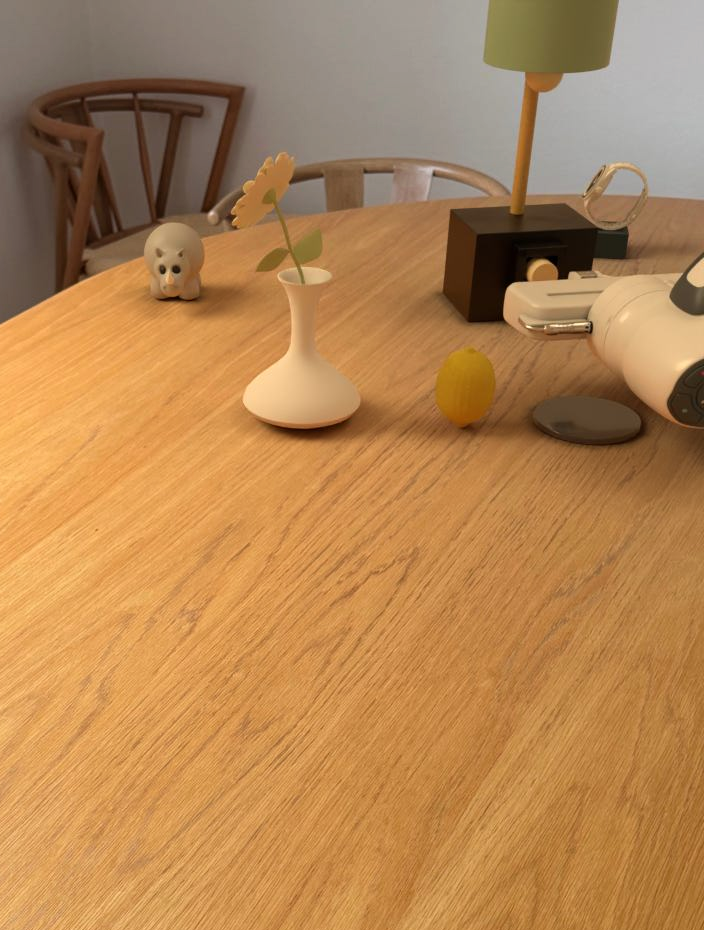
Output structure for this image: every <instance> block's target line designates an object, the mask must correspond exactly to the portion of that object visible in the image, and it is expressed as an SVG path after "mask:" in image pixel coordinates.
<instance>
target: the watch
mask: <svg viewBox="0 0 704 930" xmlns="http://www.w3.org/2000/svg"><path fill="white" fill-rule="evenodd" d="M619 170H627V171H631V172H633V173H635V174H636V175H637V176H638V177H639V178H640V179H641V180H642V182H643V184H644V186H643V187H644V188H642V190H641V194H640V195H639V197H638V199H637V201H636V203H635V204H634V206H633V207H632V208H631V209H630V210H629V212H628V213H627V214H626V215H625V217H624V218H623V219H622V220H619V221H611V220H610V221H609V220H608V221H607V220H599V219H597V218H596V217H595V216H594V215H593V214H592V212H591V210H590V208H591V205H592V204H593V203H595V202H596V201H597V200H598V199H599V198H600V197H601V196H602V194H604V192H605V190H606V189H607V188H608V186H609V185H610V183H611V181H612V179H613V177H614V175H615V174H616V173H617V172H618V171H619ZM581 199H582V200H583V201H584V202H583V203H584V204H583V205H584V212H585V214H586V217H587V219H588V220H589V221H590V222H592V223H593V224H594V225H596V226H597V227H598V234H597V240H596V247H595V253H594V258H597V259H600V258H601V259H614V260H615V259H618V260H625V259H626V255H627V249H628V242H629V238H630V233H629V232H630V231H629V227H628V226H631V225H632V224H633V222H634V221H635V220H636V219H637V218H638V217H639V215H641V213H642V211H643V210H644V208H645V206H646V204H647V203H648V199H649V185H648V182H647V177H646V176H645V174H644V172H643V171H642V170H641V168H639V167H638V166H637V165H635V164H633V163H630V162H625V161H616V162H612V163H610V164H609V165H608V164H607V163H606V164H603V165H602V166H601V167H600V168H599V169H598V170H597V172H596V173H595V174H594V175H593V177H592V178H591V179H590V181H589V183H588V184H587V186H586V187H585V188H584V190H583V193H582V196H581Z"/></svg>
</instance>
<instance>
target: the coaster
mask: <svg viewBox="0 0 704 930" xmlns="http://www.w3.org/2000/svg"><path fill="white" fill-rule="evenodd" d="M532 421H533V423H534V425H535V426H536V428H538V429H539V430H540V431H541V432H543V433H544V434H547V435H549V436H550V437H553V438H556V439H558V440H562V441H565V442H570V443H575V444H582V445H595V446H596V445H597V446H598V445H599V446H600V445H614V444H618V443H623V442H627V441H628V440H630V439H633V438H634V437H636V436H637V434H638V433H639V432H640V430H641V427H642V420H641V417H640V416H639V414H638V413H637V412H636V411H635V410H633V409H631V407H628V406H627V405H625V404H622V403H620V402H616V401H614V400H611V399H607V398H602V397H597V396H588V395H566V396H565V395H564V396H558V397H553V398H550V399H545V400H543V401H542V402H540V403H539V404H538V405H536V407H535V408H534V410H533V415H532Z"/></svg>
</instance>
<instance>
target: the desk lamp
mask: <svg viewBox="0 0 704 930" xmlns="http://www.w3.org/2000/svg"><path fill="white" fill-rule="evenodd" d="M619 2H620V0H488V6H487V7H488V9H487V18H486V29H485V37H484V38H485V39H484V46H483V58H482V61H483V63H484V64H486V65H488V66H490V67H493V68H496V69H501V70H507V71H513V72H521V73H524V78H525V80H524V86H523V87H524V89H523V95H522V103H521V104H522V106H521V112H520V113H521V114H520V122H519V130H518V140H517V146H516V147H517V148H516V156H515V165H514V173H513V181H512V190H511V198H510V199H511V200H510V205H503V206H500V205H499V206H485V207H484V206H483V207H466V208H465V207H463V208H450V209H449V219H448V231H447V239H446V241H447V242H446V251H445V261H444V262H445V263H444V273H443V283H442V284H443V286H442V295H444V297H445V298H446V299H447V300H448V301H449V303H451V304H452V306H453V307H454V308H455V309H456V310H457V312H458V313H459V314H460V315H461V317H463V318H464V319H465V321H466V322H467V323H472V322H473V323H475V322H478V323H479V322H492V321H506V320H505V319H504V316H503V310H504V300H505V294H506V290H507V288H508V287H509V286H510V285H511V284H512V283H516V282H528V281H527V280H526V278H525V276H524V274H525V267H526V264H527V263H528V262H529V261H530V260H531V259H532V258H535V257H544V258H546V259H547V260H548V261H550V262H551V263H552V264H553V265H554V266H555V267H556V268H557V271H558V278H557V280H566V279H568V277H569V273H570V272H579V271H593V264H594V259H595V257H594V253H595V247H596V240H597V234H598V227H597V226H596V225H594V224H593V223H592V222H591V221H590V220H589V219H588V218H586V217H585V216H583V214H581V213H580V212H578V211H577V210H575V208H573V207H571V205H569V204H567V203H566V202H562V203H559V202H558V203H541V204H526V200H527V192H528V184H529V176H530V169H531V168H530V167H531V159H532V153H533V152H532V151H533V143H534V135H535V127H536V118H537V111H538V103H539V95H540V93H549V92H552V91H553V90H554V89H556V88H557V87H558V86H559V85H560V84H561V82H562V80H563V78H564V74H577V73H578V74H579V73H587V72H595V71H598V70H602V69H605V68H607V67H608V66H609V65H610V62H611V56H612V48H613V42H614V37H615V36H614V35H615V28H616V23H617V16H618V10H619Z"/></svg>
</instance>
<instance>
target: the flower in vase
mask: <svg viewBox="0 0 704 930" xmlns="http://www.w3.org/2000/svg"><path fill="white" fill-rule="evenodd" d="M295 168H296V163H295V156H292V157H291V158H290V156H289V154H288V153H287V151H282V152H280V153H279V154H278V155H277V157H276V158H275V161H274V159H273V157H272V156H269V157H267V158H266V159H265V161H264V163H263V165H262V166H261V167H260V168H259V170H258V171H257V174H256V177H255V178H254V180H248V181H246V182H245V183H244V185H243V186H242V192H243V193H244V195H243V196H242V197H240V198H239V199H238V200H237V201H236V203H235V205H234V206H233V208H232V209H231V210H230V214H231V215H232V216H234V215H236V217H235V218H234V219H233V220H232V222H231V226H233V227H236V228H237V229H242V230H243V231H244V230H246V229H248V228H253V227H255V225H256V224H257V223H259V222H261V221H262V220H263V219H264V218H265V217H266V216H267V214H269V213H271V212H273V210H274V209H275V210H276V213H277V216H278V219H279V221H280V224H281V227H282V230H283V233H284V237H285V242H286V247H287V248H285V247H276V248H275V249H273V250H271V251H270V252H268V253H267V254H266V255H265V256H264V257H263V258H262V259H261V260H260V261H259V263H258V265H257V266H256V268H255V271H254V273H255V274H256V273H267V272H268V273H269V272H272V271H274V270H276V269H277V268H278V267H279V266H280V265H281V264H282V263H283V261H285V259H286V258H287V257H288V255H289V254H290V256H291V258H292V261H293V263H294V265H295V267H289V268H286V269H283V270H281V271H279V272H278V273H277V279H278V280H279V282H280V284H281V285H282V287H283V289H284V290H285V293H286V296H287V298H288V302H289V308H290V318H291V319H290V321H291V334H290V335H291V336H290V343H289V347H288V349H287V352H286V353H285V354H284V355H283V356H282V357H281V358H280V359H278V360H277V361H276V362H275V363H273V364H271V366H269V367H267V368H266V369H265V370H263V371H262V372H261V373H259V374H258V375H257V376H256V377H254V378H253V379H252V381H251V382H250V383H249V384H248V385H247V386H246V388H245V391H244V393H243V397H242V402H243V405H244V406H245V408H246V409H247V411H248V413H249V414H251V416H253V417H254V418H256V419H257V420H259V421H261V422H264V423H267V424H269V425H273V426H278V427H281V428H288V429H289V428H290V429H300V430H301V429H302V430H303V429H305V430H306V429H307V430H309V429H316V428H317V429H318V428H322V427H328V426H333V425H336V424H339V423H342V422H343V421H346V420H347V419H349V418H350V417H352V416H353V415H354V414H355V413H356V411H357V410H358V409H359V407H360V405H361V400H362V399H361V396H360V393H359V390H358V388H357V387H356V385H355V384H354V383H353V382H352V381H351V379H350V378H348V376H346V375H345V374H343V373H342V372H341V371H340V370H339V369H338V368H336V367H335V366H333V365H332V364H331V363H329V362H328V361H327V360H326V359H324V358H323V356H321V354H320V353H319V351H318V349H317V348H318V347H317V343H316V325H317V315H318V308H319V304H320V300H321V297H322V296H323V292H324V291H325V289H326V287H327V286H328V285H329V283H330V282H331V281H332V279H333V274H332V272H330V271H328V270H326V269H323V268H319V267H315V266H314V267H313V266H301V265H306V264H308V263H310V262H313V261H314V260H317V259H318V258H320V257H321V256H322V253H323V250H324V249H323V236H322V231H321V228H320V227H318V228H316V229H315V230H313V231H312V232H311V233H308V235H306V236H305V237H303V238H301V239H300V240H299V241H297V242H296V243H295V244H294V245H293V246H292V244H291V239H290V236H289V235H290V234H289V231H288V227H287V225H286V222H285V219H284V215H283V214H282V211H281V208H280V205H279V202H280V201H281V199H282V198H283V196H284V195H285V193H286V192H287V191H288V189H289V187H290V181H291V180H292V178H293V176H294V171H295Z"/></svg>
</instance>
